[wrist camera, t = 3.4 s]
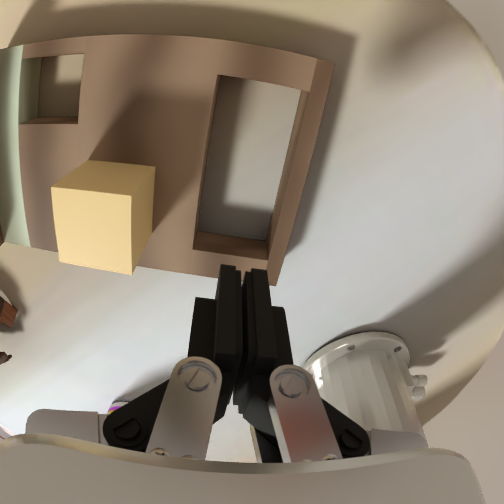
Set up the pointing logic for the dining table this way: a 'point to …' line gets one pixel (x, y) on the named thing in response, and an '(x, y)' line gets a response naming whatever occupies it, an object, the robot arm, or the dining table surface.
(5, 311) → the pottery mug
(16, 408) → the dining table surface
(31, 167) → the box
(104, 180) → the block
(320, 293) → the dining table surface
